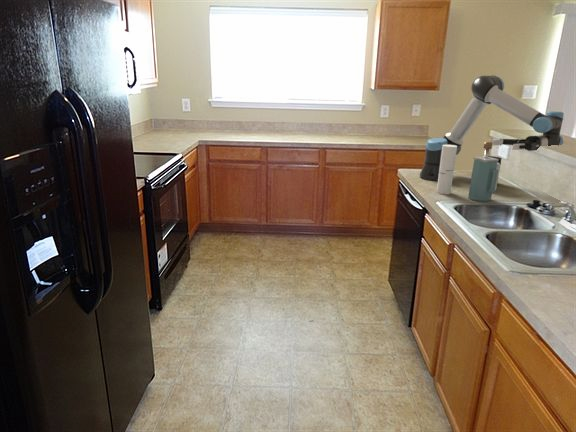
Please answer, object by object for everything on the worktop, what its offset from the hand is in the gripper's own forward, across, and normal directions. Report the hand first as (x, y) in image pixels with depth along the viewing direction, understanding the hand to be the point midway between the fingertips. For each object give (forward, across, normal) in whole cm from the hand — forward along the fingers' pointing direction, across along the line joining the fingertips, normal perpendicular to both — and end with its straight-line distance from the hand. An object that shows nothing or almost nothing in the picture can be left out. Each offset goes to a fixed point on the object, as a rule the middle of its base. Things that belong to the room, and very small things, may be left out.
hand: (502, 144), depth 216 cm
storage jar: (-21, +26, -28) cm, 43 cm away
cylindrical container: (+19, +16, -28) cm, 37 cm away
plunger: (+9, 0, -23) cm, 25 cm away
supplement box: (-10, +16, -28) cm, 33 cm away
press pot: (+9, -1, -27) cm, 29 cm away
